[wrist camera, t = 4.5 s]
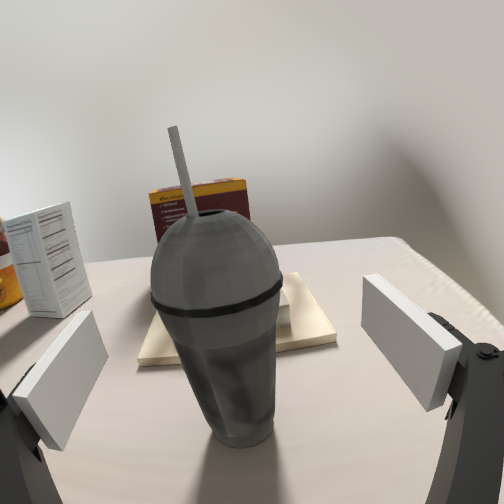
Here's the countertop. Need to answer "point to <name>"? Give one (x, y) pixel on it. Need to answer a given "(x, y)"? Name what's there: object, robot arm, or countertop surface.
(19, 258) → the supplement box
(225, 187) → the supplement box
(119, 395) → the countertop surface
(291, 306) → the cup holder
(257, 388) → the beverage cup
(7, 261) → the bucket of meat
